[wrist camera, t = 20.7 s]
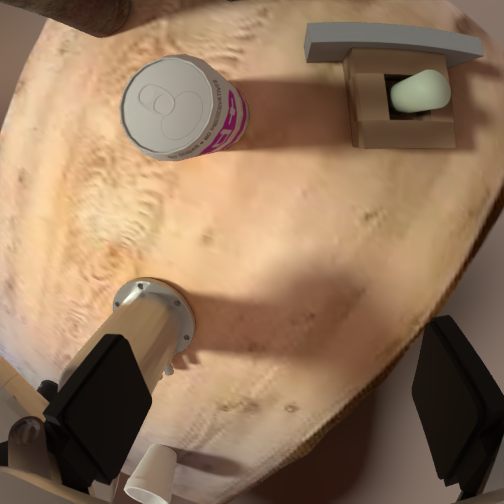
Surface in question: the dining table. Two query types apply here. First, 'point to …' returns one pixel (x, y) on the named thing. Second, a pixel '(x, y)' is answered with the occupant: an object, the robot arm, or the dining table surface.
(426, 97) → the dowel
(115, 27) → the candle
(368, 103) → the block
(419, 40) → the wall
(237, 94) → the supplement can
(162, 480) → the foam cup
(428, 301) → the dining table surface
